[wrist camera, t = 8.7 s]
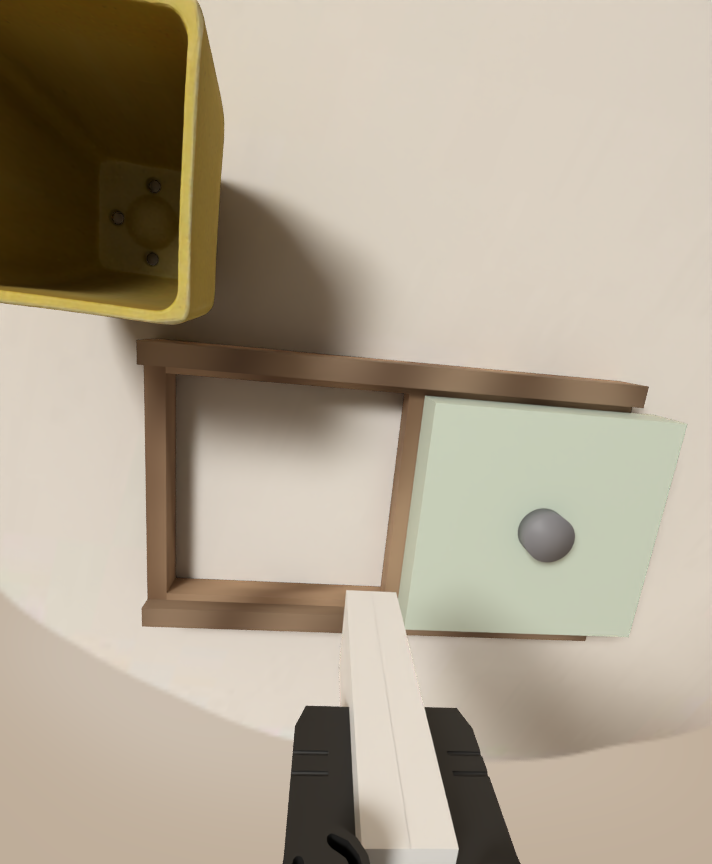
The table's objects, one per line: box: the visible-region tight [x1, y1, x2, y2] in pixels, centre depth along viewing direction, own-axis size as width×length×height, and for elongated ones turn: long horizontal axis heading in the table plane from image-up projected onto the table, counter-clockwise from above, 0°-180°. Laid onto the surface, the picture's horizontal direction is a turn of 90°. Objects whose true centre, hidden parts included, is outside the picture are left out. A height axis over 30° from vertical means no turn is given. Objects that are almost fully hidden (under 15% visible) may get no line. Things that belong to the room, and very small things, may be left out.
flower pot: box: [0, 0, 224, 325], centre depth 17 cm, size 9×9×9 cm
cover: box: [398, 395, 687, 637], centre depth 23 cm, size 12×12×3 cm
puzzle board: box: [136, 339, 649, 641], centre depth 24 cm, size 25×15×2 cm, turn 85°
